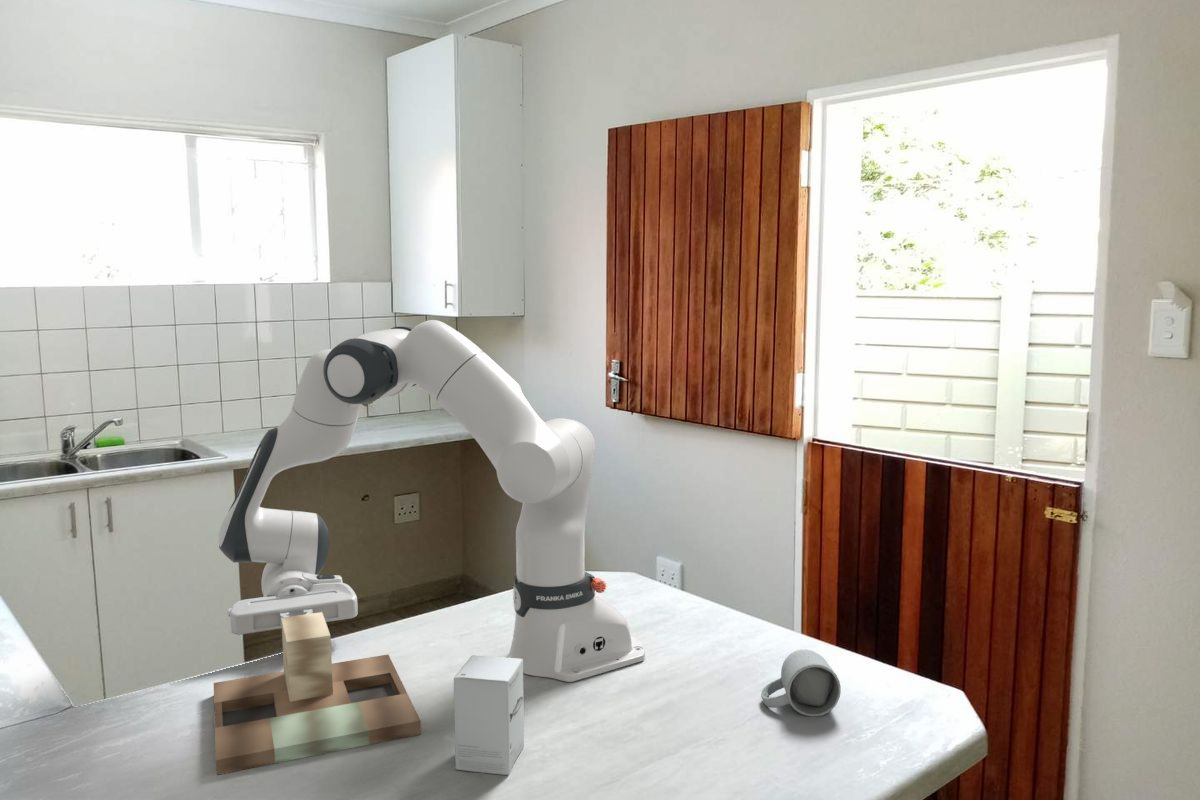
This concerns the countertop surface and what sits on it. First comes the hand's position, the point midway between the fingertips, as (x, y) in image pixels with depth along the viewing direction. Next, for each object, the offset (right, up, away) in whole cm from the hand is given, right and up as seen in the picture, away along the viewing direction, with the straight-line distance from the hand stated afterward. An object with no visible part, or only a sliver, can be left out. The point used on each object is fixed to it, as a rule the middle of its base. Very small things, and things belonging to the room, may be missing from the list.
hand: (299, 626), depth 148 cm
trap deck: (+7, -9, -15) cm, 19 cm away
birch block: (+5, -6, -10) cm, 13 cm away
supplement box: (+34, -11, -28) cm, 45 cm away
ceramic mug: (+78, -8, -13) cm, 79 cm away
